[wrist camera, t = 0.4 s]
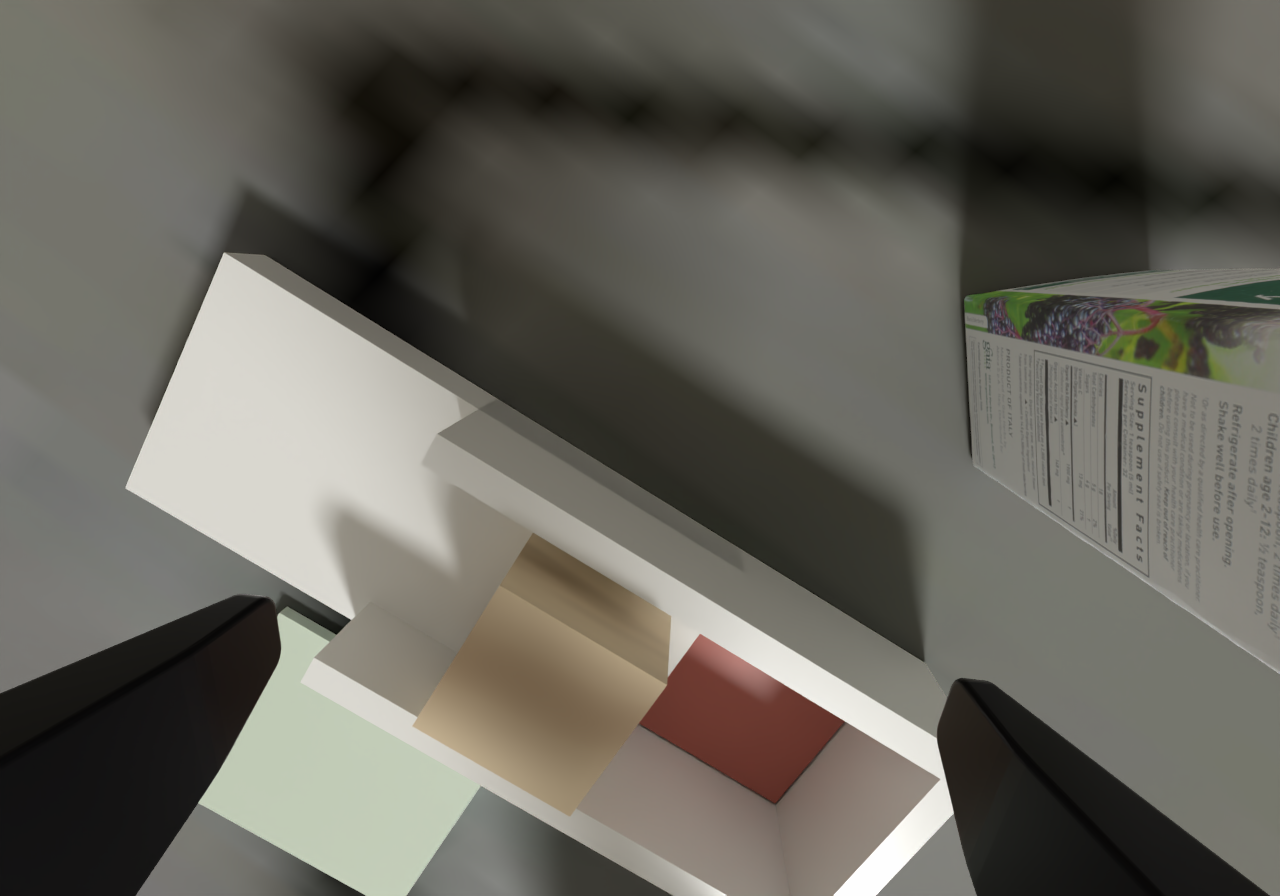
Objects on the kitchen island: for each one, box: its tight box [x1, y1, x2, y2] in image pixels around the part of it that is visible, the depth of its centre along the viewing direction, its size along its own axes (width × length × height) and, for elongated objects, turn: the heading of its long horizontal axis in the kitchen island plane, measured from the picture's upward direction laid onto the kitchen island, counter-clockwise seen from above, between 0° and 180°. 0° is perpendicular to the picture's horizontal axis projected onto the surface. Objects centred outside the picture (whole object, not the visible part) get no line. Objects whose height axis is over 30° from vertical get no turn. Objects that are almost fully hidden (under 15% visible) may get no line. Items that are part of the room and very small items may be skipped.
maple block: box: [413, 533, 671, 817], centre depth 20 cm, size 5×5×5 cm
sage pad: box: [198, 607, 481, 896], centre depth 27 cm, size 10×10×1 cm
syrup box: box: [964, 269, 1280, 674], centre depth 14 cm, size 6×6×14 cm
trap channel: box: [125, 252, 954, 896], centre depth 21 cm, size 9×27×6 cm, turn 58°
